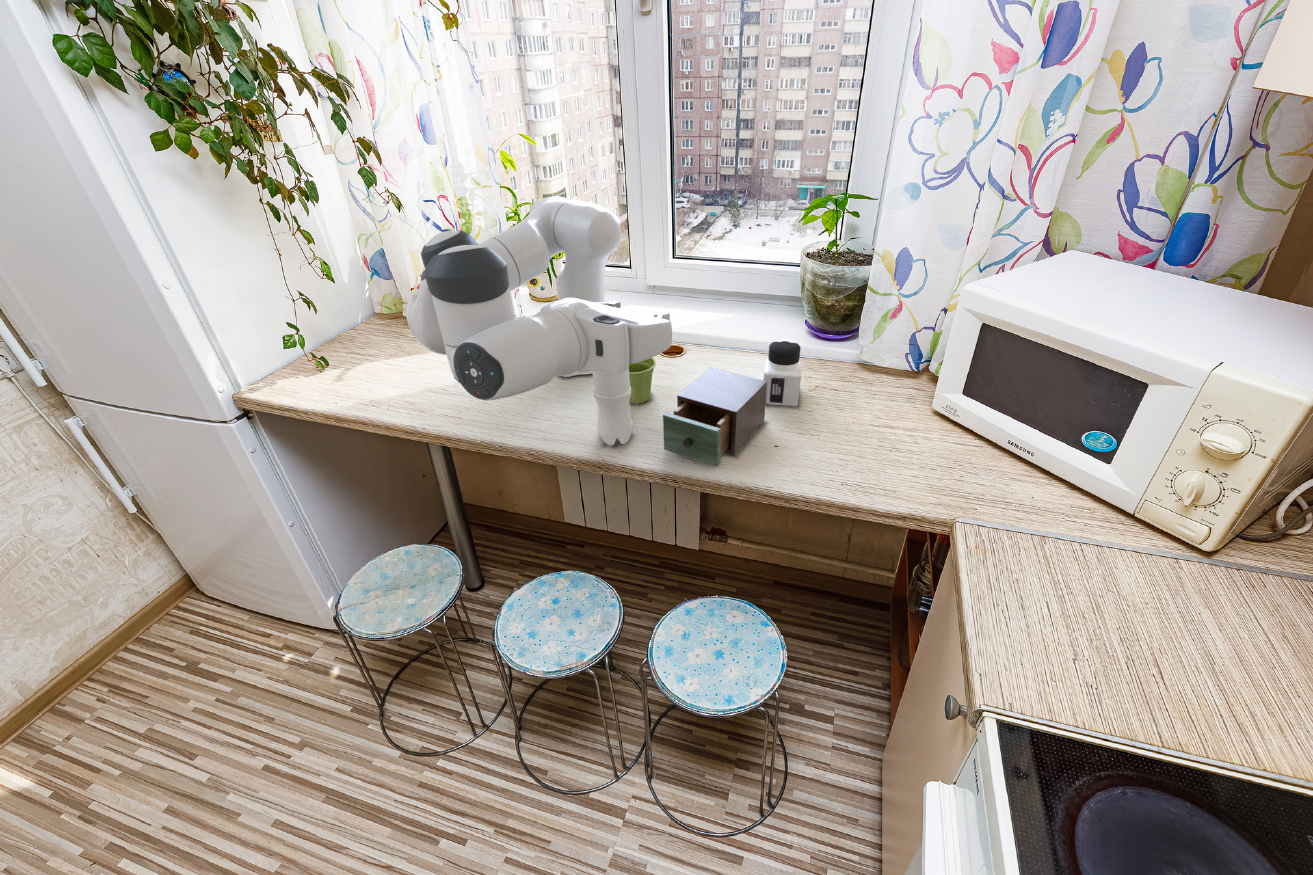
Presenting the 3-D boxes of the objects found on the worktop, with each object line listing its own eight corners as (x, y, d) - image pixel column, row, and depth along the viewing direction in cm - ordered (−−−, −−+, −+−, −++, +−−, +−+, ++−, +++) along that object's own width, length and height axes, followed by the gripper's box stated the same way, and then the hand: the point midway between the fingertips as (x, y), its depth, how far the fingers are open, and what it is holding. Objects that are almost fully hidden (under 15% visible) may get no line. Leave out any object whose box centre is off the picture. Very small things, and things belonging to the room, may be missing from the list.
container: (797, 407, 130) (803, 352, 123) (761, 404, 132) (765, 350, 125) (797, 390, 137) (803, 337, 130) (763, 387, 138) (767, 335, 131)
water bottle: (617, 425, 127) (608, 313, 113) (641, 438, 122) (634, 322, 108) (591, 439, 122) (578, 324, 109) (614, 452, 118) (604, 335, 104)
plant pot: (607, 399, 136) (604, 364, 131) (636, 383, 142) (634, 350, 137) (636, 412, 131) (634, 377, 126) (665, 396, 136) (664, 361, 132)
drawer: (713, 470, 111) (714, 434, 106) (660, 452, 116) (659, 417, 112) (746, 435, 120) (748, 400, 116) (695, 419, 126) (696, 386, 121)
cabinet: (734, 455, 116) (736, 412, 111) (677, 437, 122) (677, 395, 117) (764, 422, 126) (767, 381, 120) (710, 407, 132) (711, 367, 126)
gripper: (524, 342, 87) (592, 319, 96) (631, 376, 76) (695, 346, 85) (519, 299, 84) (589, 280, 93) (629, 328, 73) (696, 302, 82)
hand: (640, 311), depth 89 cm, fingers open, 8 cm apart
